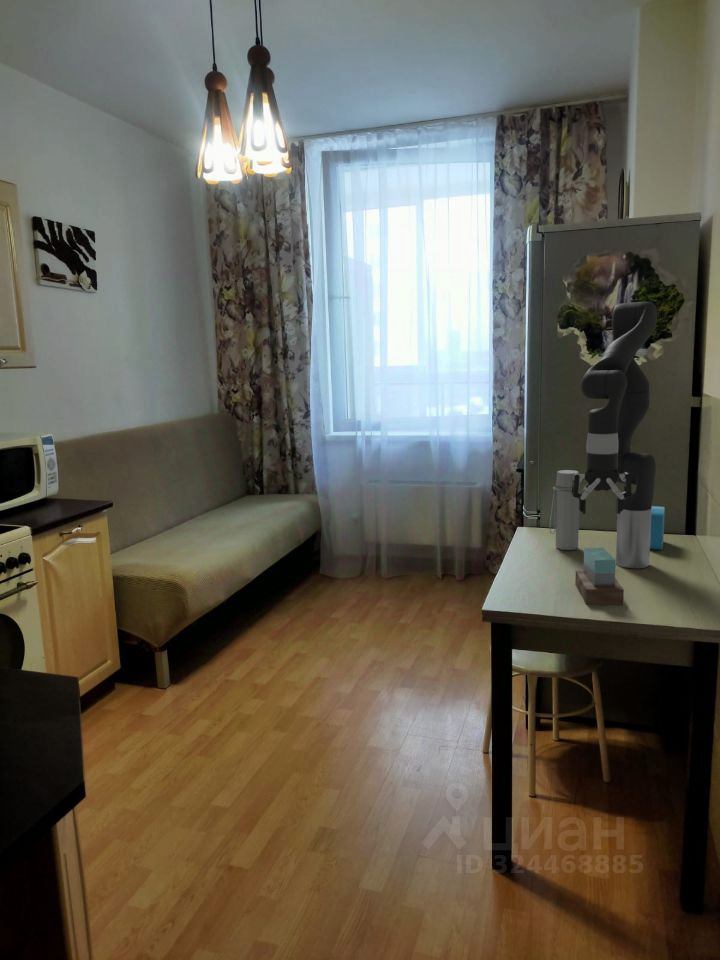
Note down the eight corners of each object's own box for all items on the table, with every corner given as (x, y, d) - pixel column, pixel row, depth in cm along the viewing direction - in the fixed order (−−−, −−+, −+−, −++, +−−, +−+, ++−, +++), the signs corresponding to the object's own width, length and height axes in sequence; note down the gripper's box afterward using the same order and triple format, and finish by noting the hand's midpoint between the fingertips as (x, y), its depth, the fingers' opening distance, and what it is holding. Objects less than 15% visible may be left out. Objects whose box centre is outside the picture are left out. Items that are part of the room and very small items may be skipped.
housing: (594, 586, 172) (595, 560, 171) (583, 573, 183) (584, 547, 182) (614, 586, 172) (615, 559, 170) (602, 572, 182) (603, 547, 181)
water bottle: (575, 544, 223) (577, 469, 219) (581, 551, 216) (582, 473, 211) (547, 544, 224) (548, 470, 220) (551, 551, 217) (552, 474, 212)
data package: (648, 540, 225) (649, 505, 223) (663, 541, 223) (664, 505, 221) (646, 550, 215) (648, 513, 213) (662, 551, 213) (663, 514, 211)
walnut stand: (575, 584, 186) (575, 570, 185) (609, 584, 185) (610, 570, 184) (585, 604, 171) (586, 589, 171) (623, 604, 170) (623, 589, 169)
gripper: (575, 453, 168) (574, 517, 171) (635, 452, 166) (633, 516, 169) (570, 449, 176) (569, 510, 179) (628, 447, 174) (626, 509, 177)
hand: (600, 513), depth 174 cm, fingers open, 8 cm apart
